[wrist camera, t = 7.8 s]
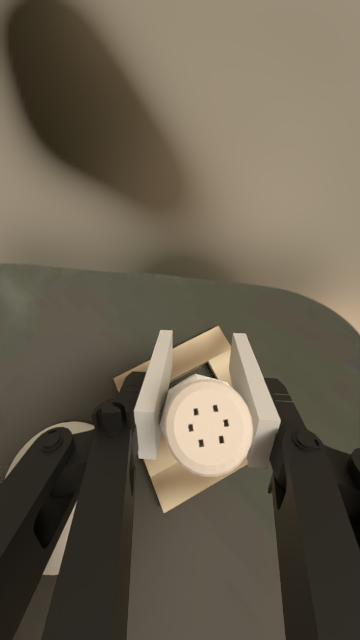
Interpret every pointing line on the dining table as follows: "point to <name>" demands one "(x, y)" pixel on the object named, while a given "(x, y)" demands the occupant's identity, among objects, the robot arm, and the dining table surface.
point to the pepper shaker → (206, 426)
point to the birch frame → (165, 471)
